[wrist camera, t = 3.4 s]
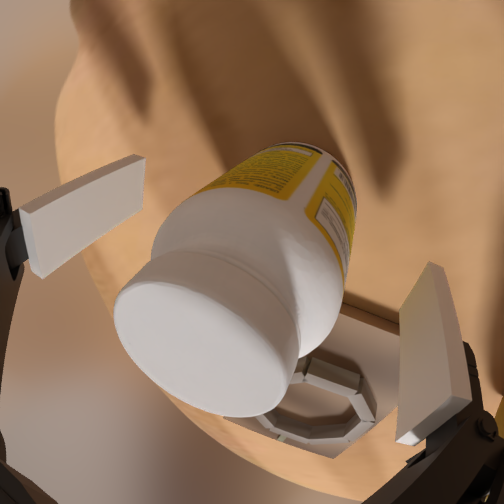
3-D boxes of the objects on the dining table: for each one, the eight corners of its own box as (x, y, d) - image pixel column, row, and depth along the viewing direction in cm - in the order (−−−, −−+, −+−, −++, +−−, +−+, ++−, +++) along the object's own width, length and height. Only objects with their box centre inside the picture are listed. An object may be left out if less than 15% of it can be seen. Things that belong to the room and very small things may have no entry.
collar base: (273, 275, 19) (260, 299, 17) (446, 342, 17) (449, 370, 15) (226, 410, 29) (217, 428, 27) (335, 450, 27) (330, 470, 25)
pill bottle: (223, 210, 18) (83, 341, 9) (276, 116, 14) (106, 182, 5) (314, 273, 18) (241, 450, 9) (383, 189, 14) (384, 373, 5)
